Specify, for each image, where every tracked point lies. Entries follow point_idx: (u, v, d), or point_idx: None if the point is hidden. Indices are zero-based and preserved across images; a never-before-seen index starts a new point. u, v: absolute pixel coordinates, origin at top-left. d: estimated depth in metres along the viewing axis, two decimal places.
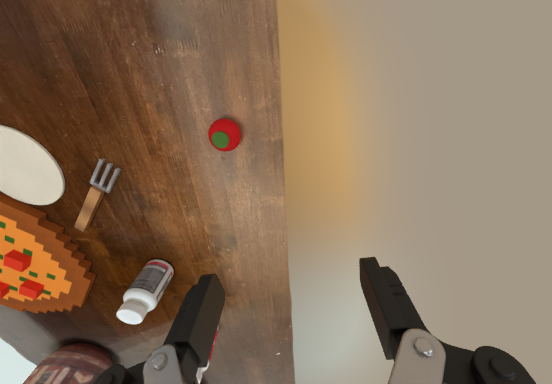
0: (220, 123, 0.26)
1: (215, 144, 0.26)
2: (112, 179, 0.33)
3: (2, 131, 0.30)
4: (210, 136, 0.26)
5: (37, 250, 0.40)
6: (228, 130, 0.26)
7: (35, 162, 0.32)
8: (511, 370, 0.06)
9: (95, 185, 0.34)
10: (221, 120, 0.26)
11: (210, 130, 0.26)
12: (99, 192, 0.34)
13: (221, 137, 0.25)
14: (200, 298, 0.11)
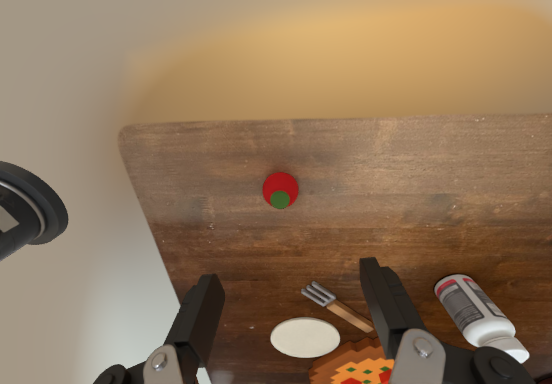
0: (264, 194, 0.24)
1: (284, 206, 0.23)
2: (322, 290, 0.34)
3: (275, 334, 0.41)
4: None
5: (384, 363, 0.42)
6: (270, 188, 0.23)
7: (300, 329, 0.40)
8: (511, 370, 0.06)
9: (327, 303, 0.36)
10: None
11: (271, 205, 0.24)
12: (333, 304, 0.35)
13: (276, 199, 0.22)
14: (200, 298, 0.11)
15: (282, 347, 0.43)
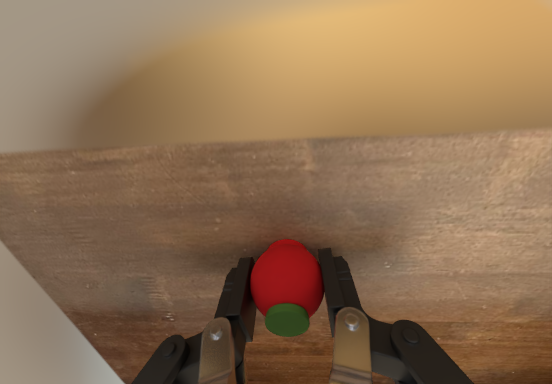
0: (253, 299, 0.11)
1: (297, 333, 0.10)
2: None
3: None
4: None
5: None
6: (266, 294, 0.10)
7: None
8: (417, 338, 0.07)
9: None
10: None
11: None
12: None
13: (279, 321, 0.10)
14: (243, 278, 0.11)
15: None
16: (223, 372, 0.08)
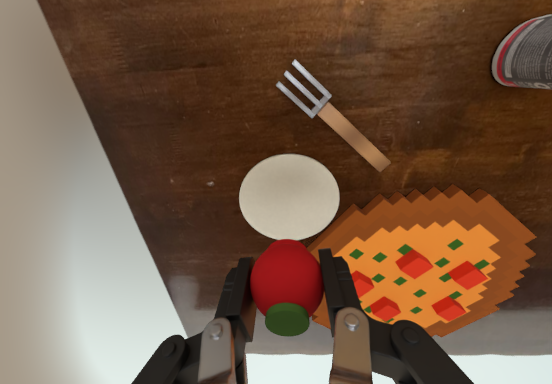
0: (253, 298, 0.11)
1: (297, 332, 0.10)
2: (309, 76, 0.21)
3: (245, 193, 0.28)
4: None
5: (405, 237, 0.29)
6: (266, 293, 0.10)
7: (281, 177, 0.27)
8: (418, 338, 0.07)
9: (318, 111, 0.23)
10: None
11: None
12: (328, 104, 0.22)
13: (279, 321, 0.10)
14: (243, 278, 0.11)
15: (258, 220, 0.30)
16: (223, 372, 0.08)
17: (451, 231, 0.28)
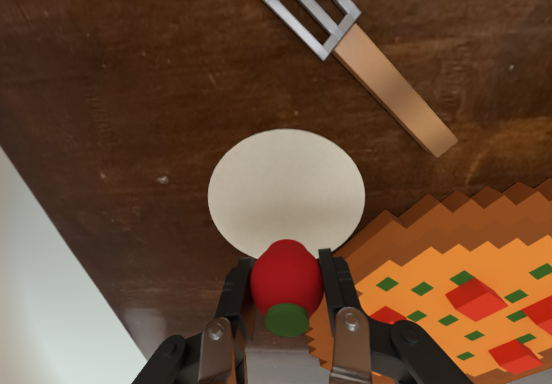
0: (253, 299, 0.11)
1: (297, 333, 0.10)
2: None
3: (217, 194, 0.18)
4: None
5: (465, 260, 0.19)
6: (266, 294, 0.10)
7: (272, 169, 0.17)
8: (418, 338, 0.07)
9: (334, 46, 0.13)
10: (250, 289, 0.12)
11: None
12: (354, 27, 0.12)
13: (279, 321, 0.10)
14: (243, 278, 0.11)
15: (239, 235, 0.20)
16: (223, 372, 0.08)
17: (540, 252, 0.18)
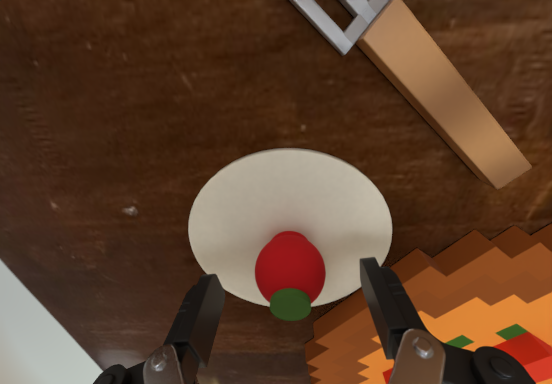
0: (258, 286, 0.12)
1: (300, 317, 0.11)
2: None
3: (200, 229, 0.14)
4: None
5: (519, 313, 0.15)
6: (270, 280, 0.11)
7: (271, 200, 0.13)
8: (511, 370, 0.06)
9: (361, 34, 0.09)
10: (255, 277, 0.12)
11: None
12: (396, 2, 0.08)
13: (283, 305, 0.10)
14: (200, 298, 0.11)
15: (230, 276, 0.16)
16: None
17: None
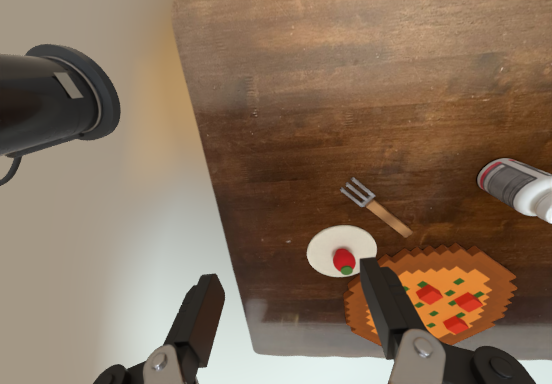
0: (335, 265, 0.39)
1: (349, 273, 0.38)
2: (361, 186, 0.35)
3: (312, 247, 0.42)
4: None
5: (422, 276, 0.42)
6: (340, 263, 0.38)
7: (337, 239, 0.40)
8: (511, 370, 0.06)
9: (366, 203, 0.36)
10: (333, 263, 0.40)
11: None
12: (373, 201, 0.35)
13: (345, 270, 0.38)
14: (200, 298, 0.11)
15: (318, 264, 0.44)
16: None
17: (455, 273, 0.41)
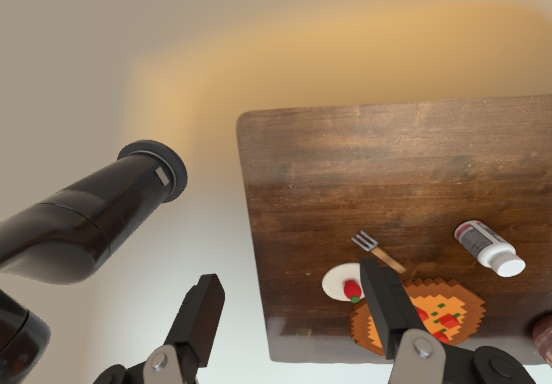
0: (346, 294, 0.50)
1: (357, 301, 0.49)
2: (368, 237, 0.45)
3: (326, 279, 0.52)
4: None
5: (413, 301, 0.53)
6: (350, 293, 0.49)
7: (347, 273, 0.51)
8: (511, 370, 0.06)
9: (370, 248, 0.47)
10: (344, 292, 0.50)
11: None
12: (376, 248, 0.46)
13: (353, 299, 0.49)
14: (200, 298, 0.11)
15: (331, 291, 0.54)
16: None
17: (438, 299, 0.52)
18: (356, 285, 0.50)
